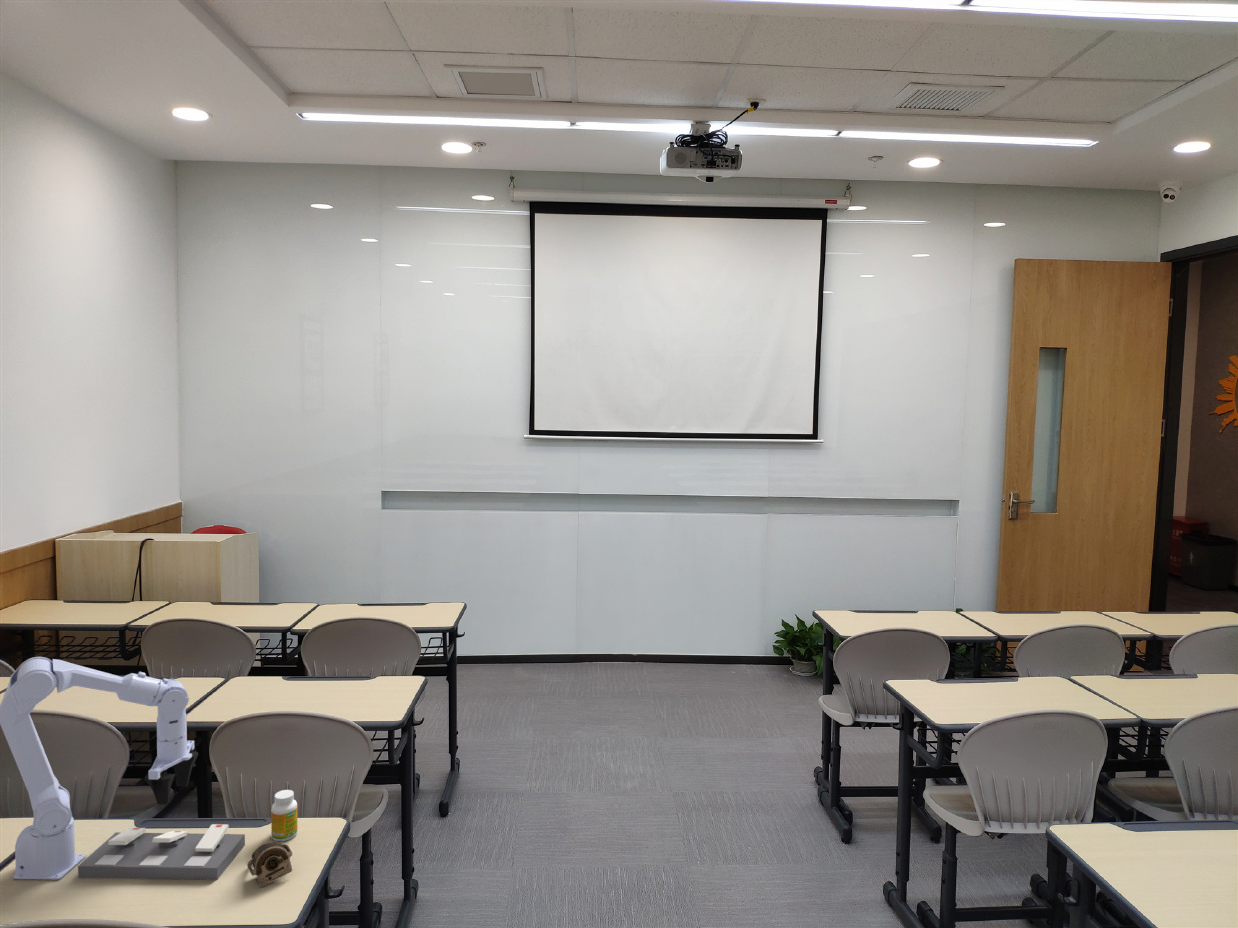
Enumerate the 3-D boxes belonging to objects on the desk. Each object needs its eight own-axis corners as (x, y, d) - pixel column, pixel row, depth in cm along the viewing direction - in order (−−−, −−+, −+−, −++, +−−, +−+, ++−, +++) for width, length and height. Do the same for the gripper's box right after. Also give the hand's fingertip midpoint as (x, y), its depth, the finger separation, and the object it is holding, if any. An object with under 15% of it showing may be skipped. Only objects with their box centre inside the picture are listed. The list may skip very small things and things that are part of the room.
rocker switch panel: (78, 877, 154) (77, 863, 153) (115, 843, 165) (115, 829, 165) (217, 879, 154) (217, 864, 154) (244, 844, 166) (244, 831, 166)
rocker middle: (151, 844, 158) (152, 837, 158) (169, 836, 165) (170, 830, 165) (169, 844, 158) (170, 837, 158) (186, 837, 165) (187, 830, 165)
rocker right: (195, 852, 159) (195, 847, 158) (212, 828, 165) (211, 823, 165) (213, 852, 159) (212, 847, 158) (229, 828, 165) (228, 824, 165)
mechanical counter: (231, 867, 150) (284, 852, 152) (247, 826, 162) (295, 812, 164) (241, 897, 152) (293, 882, 153) (256, 854, 164) (303, 840, 166)
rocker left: (108, 846, 158) (108, 840, 158) (128, 833, 165) (129, 827, 165) (125, 846, 158) (126, 840, 158) (145, 833, 165) (145, 827, 165)
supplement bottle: (287, 843, 167) (287, 801, 166) (266, 840, 168) (265, 798, 168) (302, 830, 173) (302, 789, 172) (281, 826, 174) (281, 786, 173)
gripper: (171, 751, 161) (172, 812, 162) (207, 722, 175) (207, 778, 176) (138, 750, 160) (139, 811, 161) (176, 721, 175) (177, 777, 176)
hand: (172, 794), depth 169 cm, fingers open, 7 cm apart
